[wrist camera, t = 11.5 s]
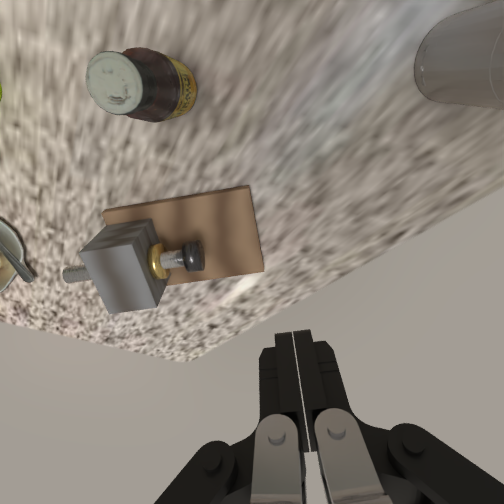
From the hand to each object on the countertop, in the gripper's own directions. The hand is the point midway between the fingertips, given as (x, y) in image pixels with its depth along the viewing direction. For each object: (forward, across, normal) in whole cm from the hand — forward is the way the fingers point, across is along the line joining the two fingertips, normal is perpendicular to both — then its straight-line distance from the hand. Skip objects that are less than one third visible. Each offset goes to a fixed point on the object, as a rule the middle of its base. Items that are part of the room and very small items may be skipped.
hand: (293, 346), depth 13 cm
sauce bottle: (+35, +10, -11) cm, 38 cm away
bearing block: (+35, +14, +10) cm, 39 cm away
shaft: (+32, +21, +10) cm, 39 cm away
